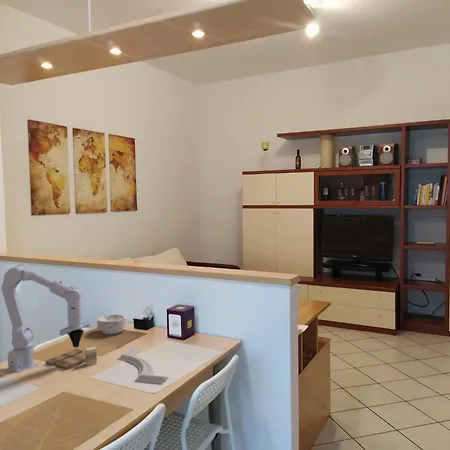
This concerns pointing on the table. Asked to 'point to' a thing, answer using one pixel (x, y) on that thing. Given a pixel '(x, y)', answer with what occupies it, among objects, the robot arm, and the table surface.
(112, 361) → the table surface
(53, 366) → the underlay
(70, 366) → the board
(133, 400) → the table surface
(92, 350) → the block
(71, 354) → the laid plank
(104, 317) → the paper bowls
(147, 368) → the molding
